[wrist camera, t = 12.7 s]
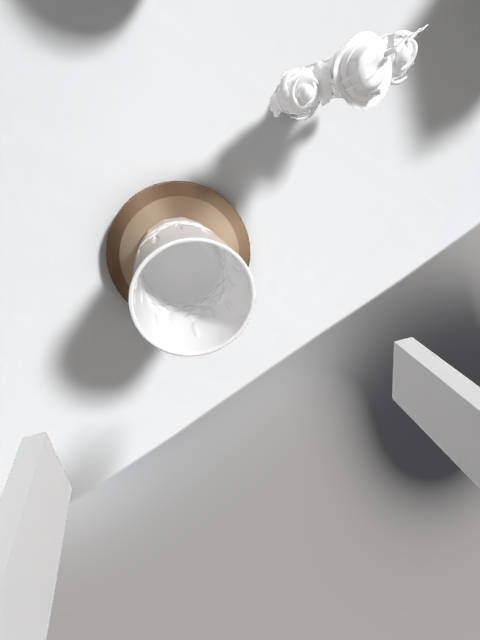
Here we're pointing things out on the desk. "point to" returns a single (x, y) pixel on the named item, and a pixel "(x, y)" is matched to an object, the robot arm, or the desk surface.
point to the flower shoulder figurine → (348, 74)
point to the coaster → (165, 205)
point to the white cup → (189, 289)
